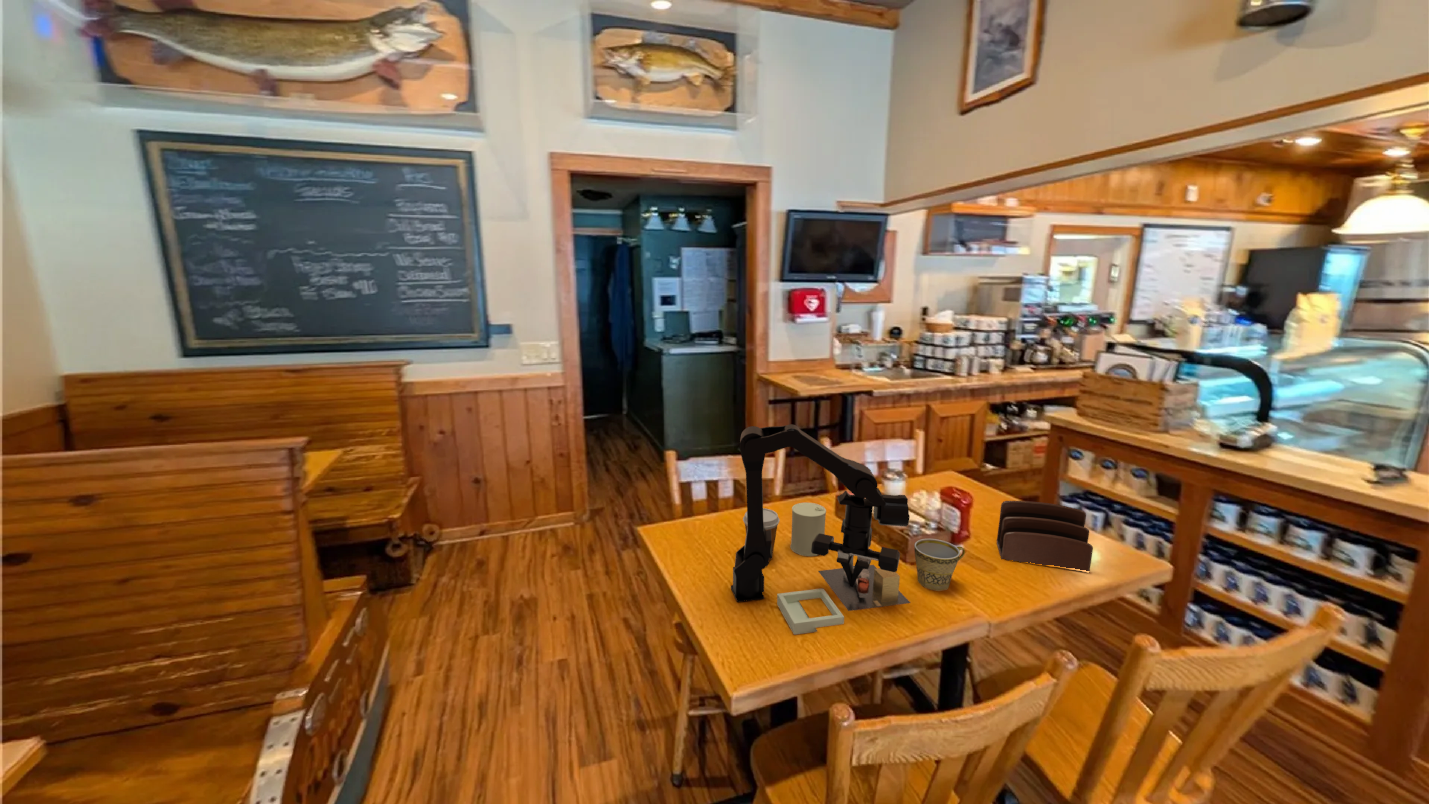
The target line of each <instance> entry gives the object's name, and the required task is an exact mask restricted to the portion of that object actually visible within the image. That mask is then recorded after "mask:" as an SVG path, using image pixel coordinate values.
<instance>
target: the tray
mask: <svg viewBox="0 0 1429 804" xmlns="http://www.w3.org/2000/svg"><path fill="white" fill-rule="evenodd" d="M776 594H777V596H776V601H777V602H776V605H777V606H778V608H779V610H780V612H781V614H782V616H783V618H784V619H785V621H786V623H787V625H788V627H789V628H790V630H791V632H792V634H793V635H795V636H796V635H802V634H809V633H816V632H817V633H818V629H817V628H822V627H824V628H825V627H830V626H831V627H832V626H839V625H844V623H845V616H844V615H843V613H842V612H841V611H840V609H839V607H837V605H836V603H834V601H833V600H832V599H831V597H830V596H829V594H828V592H827V591H826V590H825V588H815V589H806V590H799V591H790V592H789V591H788V592H781V593H776ZM813 599H821V601H822V602H823V604H824V605H825V606H826V607H827V609H828V610H829V612H830V614H831V615H826V616H825V615H824V616H818V617H816V616H815V617H809V615H808V613H807V612H806V610H805V609H804V607H803V606H802V604H801V602H800V601H804V600H813Z"/></svg>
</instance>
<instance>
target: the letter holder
mask: <svg viewBox="0 0 1429 804" xmlns="http://www.w3.org/2000/svg"><path fill="white" fill-rule="evenodd" d="M999 511H1000V512H999V513H1000V514H999V520H998V521H999V522H998V529H997V536H996V545H997V549H998V552H999V553H998V554H999V557H1000V556H1001V557H1000V558H1001V559H1000V560H1002V559H1006V560H1005V561H1009V560H1013V561H1012V562H1015V561H1019V562H1018V563H1021V562H1028V563H1030V562H1031V563H1035V564H1042V565H1054V566H1060V567H1066V568H1075V569H1080V570H1086V571H1090V572H1091V564H1092V557H1093V553H1094V547H1093V545H1092V544H1091V543H1088V542H1089V536H1090V529H1089V528H1088V527H1085V525H1086V519H1087V513H1086V512H1085V511H1084V510H1082V509H1078V508H1075V507H1071V506H1067V505H1066V506H1065V505H1061V504H1055V503H1049V502H1041V501H1040V502H1039V501H1031V500H1030V501H1028V500H1005V501H1003V502H1001V505H1000V510H999Z"/></svg>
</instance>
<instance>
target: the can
mask: <svg viewBox="0 0 1429 804" xmlns="http://www.w3.org/2000/svg"><path fill="white" fill-rule="evenodd" d="M826 514H827V509H826V508H825V506H823V505H821V504H818V503H814V502H799V503H796V504H794V505H793V506H792V507H791V538H790V539H791V540H790V542H791V543H790V549H791V551H792V552H794V553H795V554H796V555H799V556H803V557H817V556H818V555H817V554H813V553H812V552H811V548H812V542H813V540H814V539H815V537H816V536H817V535H818V534H819V533H820V534H825V535H826V533H825V530H826Z"/></svg>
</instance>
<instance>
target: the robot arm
mask: <svg viewBox="0 0 1429 804" xmlns="http://www.w3.org/2000/svg"><path fill="white" fill-rule="evenodd" d="M739 441H740V442H739V451H740V452H739V453H740V456H741V460H742V461H741V462H742V465H743V467H744V470H745V486H746V487H745V488H746V512H747V521H748V527H747V533H746V532H745V534H746V535H745V541H744V544H743V546H742V547H740V548H739V549H738V550H737V551H736V553H735V560H734V566H733V567H732V585H731V586H730V589H731V591H732V593H733V594H732V595H733V596H734V598H735V600H736V602H737V603H742V602H750V601H758V600H759V601H760V600H764V599H765V595H764V592H765V575H764V574H763V570H764V569H765V568H766V567H768V565H769V563H770V561H769V558H771V560H773V556H772V544H771V543H772V539H771V530H767V531H766V530H765V527H764V523H763V508H764V499H763V498H764V496H763V495H764V494H763V493H764V492H763V491H764V490H763V469H764V463H765V458H766V454H771V453H775V452H777V451H779V450H782V449H786V448H790V447H791V448H793V449H794V450H796V451H797V452H799V453H800V454H802V455H803V456H805V457H807V458H808V459H809V460H811V461H812V462H814V463H816V464H817V465H819V466H821V467H822V468H823V469H824V470H826V471H828V472H829V473H831V474H833V475H834V476H835V478H837V480H839V482H840V483H842V486H844V487H845V488H846V489H847V490H848V491H849V492H850V493H851V494H850V493H849V492H848V491H847V490H844V492H843V493H840V494H839V495H838V496H837V501H838V503H839V505H840V506H841V505H843V506H845V514H844V518H843V519H842V522H841V528H840V533H843V534H842V535H843V536H842V543H839V542H835V537H834V536H833V535H829V534H826V533H825V534H820V533H819V534H818V535H817V536H816V537H815V539H814V540H813V542H812V548H811V552H812V553H813V554H817V556H822V557H825V556H827V555H828V554H829V552H830V551H832V552H837V558H836V563H838V564H840V565H841V568H843V569H844V571H845V573H846V576H847V579H848V582H849V585H850V587H853V586H854V584H855V581H856V579H857V577H858V576H859V574H860V573H861V572H862V570H863V569H869V566H870V565H871V564H872V563H871V562H872V561H877V562H878V563H877V566H878V567H879V568H881V569H882V570H886V571H891V572H896V573H897V572H898V568H899V564H900V556H901V553H900V551H899V550H898V549H894V548H889V547H886V546H885V547H884V546H881V549H880V551H876V550H873V549H872V548H870V547H871V545H872V532H873V528H872V520H873V519H874V520H875V521H878V524H879V525H880V526H895V527H908V526H909V523H910V512H909V505H908V503H909V499H908V497H907V495H905V494H896V495H895V494H883V493H882V492H881V491H880V488H878V487H879V486H878V482H877V481H878V480H877V479H876V477H875V476H874V474H873V472H872V471H871V468H869V467H868V466H866V465H864V464H862V463H861V462H858V461H855V460H852V459H849V458H845V457H843V456H841V455H840V454H839V453H836V452H835V451H833V450H832V449H830V448H828V446H826V445H824V444H822V442H820V441H818V440H816V439H815V438H813V437H812V436H810V435H809V434H807V433H806V432H805V431H804V430H801V429H800V428H799V426H797V425H795V424H791V423H790V424H787V425H781V426H780V425H779V426H778V425H777V426H763V427H759V426H757V425H756V426H755V425H754V426H753V425H752V426H747V427H746V428H745V429H743V431H742V432H741V435H740V440H739ZM872 517H873V519H872ZM854 556H855V557H856V558H857V559H856V561H855V563H854ZM853 566H855V567H854V571H853Z"/></svg>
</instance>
